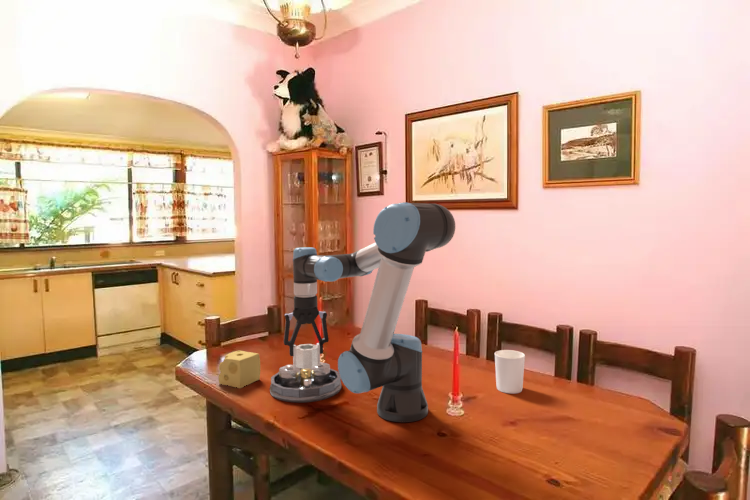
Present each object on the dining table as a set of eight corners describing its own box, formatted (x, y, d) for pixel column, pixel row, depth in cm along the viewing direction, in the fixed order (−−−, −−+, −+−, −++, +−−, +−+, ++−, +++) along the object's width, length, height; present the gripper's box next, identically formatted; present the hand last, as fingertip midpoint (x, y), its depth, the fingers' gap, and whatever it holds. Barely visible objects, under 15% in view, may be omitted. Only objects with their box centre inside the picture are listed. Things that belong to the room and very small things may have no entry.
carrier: (347, 398, 151) (346, 375, 150) (270, 406, 145) (270, 382, 144) (335, 373, 174) (334, 354, 173) (269, 380, 168) (268, 359, 167)
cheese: (218, 384, 164) (217, 356, 164) (240, 375, 174) (239, 348, 173) (240, 389, 159) (239, 360, 159) (261, 379, 169) (261, 352, 168)
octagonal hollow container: (315, 360, 157) (315, 343, 157) (318, 367, 150) (318, 349, 150) (294, 362, 156) (294, 344, 155) (296, 369, 149) (296, 350, 148)
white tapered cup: (526, 395, 151) (526, 359, 150) (495, 393, 153) (495, 357, 152) (522, 384, 160) (523, 350, 160) (493, 383, 162) (493, 349, 162)
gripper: (334, 291, 157) (335, 358, 159) (273, 294, 152) (275, 363, 154) (337, 295, 150) (338, 365, 152) (274, 298, 145) (275, 370, 147)
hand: (306, 364), depth 153 cm, fingers closed on octagonal hollow container, 7 cm apart
